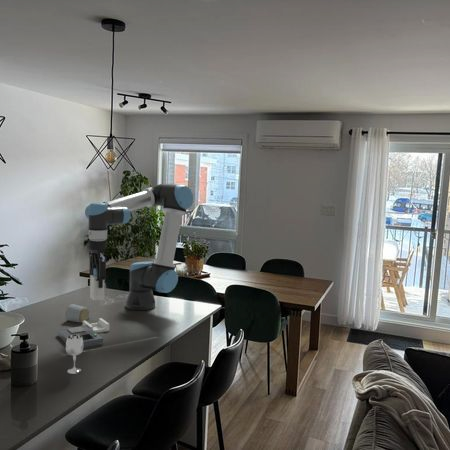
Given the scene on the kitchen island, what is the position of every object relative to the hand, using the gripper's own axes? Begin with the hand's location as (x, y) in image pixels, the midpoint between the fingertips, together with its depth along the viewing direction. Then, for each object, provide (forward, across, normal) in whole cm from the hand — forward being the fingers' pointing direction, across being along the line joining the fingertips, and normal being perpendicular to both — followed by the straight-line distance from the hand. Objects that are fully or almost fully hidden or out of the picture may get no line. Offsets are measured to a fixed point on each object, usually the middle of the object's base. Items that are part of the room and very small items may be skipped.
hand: (97, 293), depth 193 cm
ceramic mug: (+17, -16, -2) cm, 23 cm away
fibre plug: (+2, 0, 0) cm, 2 cm away
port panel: (+16, +9, -10) cm, 21 cm away
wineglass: (+16, +35, -22) cm, 44 cm away
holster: (+16, 0, 0) cm, 16 cm away
